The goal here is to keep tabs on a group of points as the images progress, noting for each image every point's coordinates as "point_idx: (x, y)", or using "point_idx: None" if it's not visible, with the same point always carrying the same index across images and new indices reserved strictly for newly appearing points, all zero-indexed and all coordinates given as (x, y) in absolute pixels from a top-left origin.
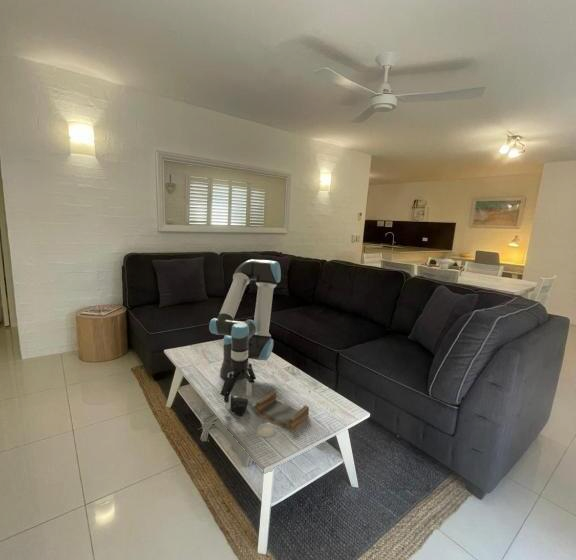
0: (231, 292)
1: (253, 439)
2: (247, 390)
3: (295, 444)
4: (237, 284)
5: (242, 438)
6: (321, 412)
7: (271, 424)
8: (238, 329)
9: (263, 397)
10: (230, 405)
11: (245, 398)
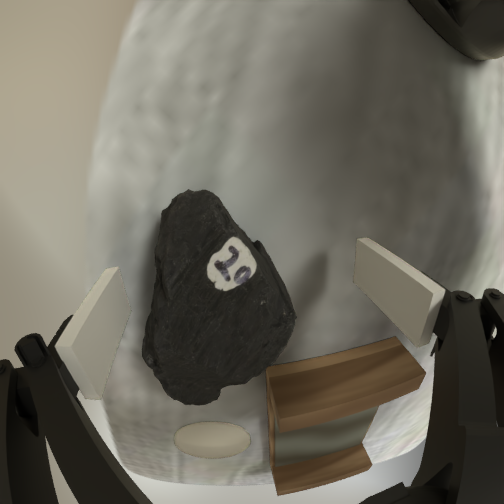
0: None
1: (146, 439)
2: (376, 265)
3: (235, 479)
4: None
5: (113, 420)
6: (391, 434)
7: (247, 438)
8: None
9: (348, 402)
10: (122, 328)
11: (284, 326)
